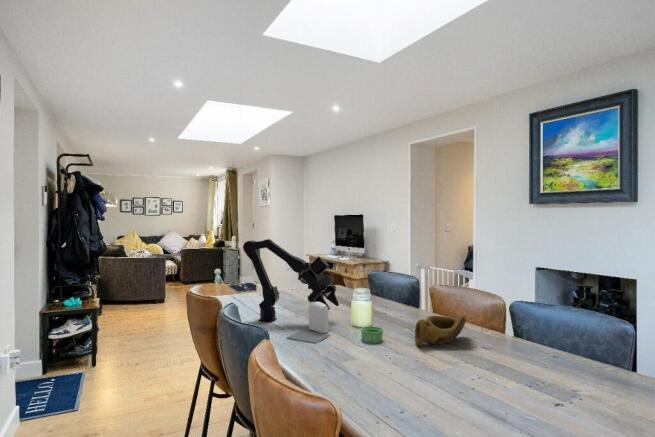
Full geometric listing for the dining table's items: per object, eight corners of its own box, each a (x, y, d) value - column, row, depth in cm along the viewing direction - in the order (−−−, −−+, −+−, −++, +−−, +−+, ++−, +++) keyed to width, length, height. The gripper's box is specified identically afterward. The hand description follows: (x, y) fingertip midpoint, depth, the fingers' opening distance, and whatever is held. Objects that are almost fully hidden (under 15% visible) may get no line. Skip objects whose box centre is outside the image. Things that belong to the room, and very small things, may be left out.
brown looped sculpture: (484, 331, 143) (424, 321, 144) (474, 361, 147) (416, 351, 148) (470, 305, 161) (416, 296, 161) (461, 332, 165) (409, 323, 165)
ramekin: (357, 341, 156) (357, 330, 156) (365, 335, 164) (365, 324, 164) (378, 344, 152) (378, 333, 152) (386, 338, 160) (386, 327, 160)
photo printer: (307, 329, 173) (307, 300, 173) (315, 327, 176) (315, 299, 176) (322, 334, 165) (322, 304, 165) (330, 332, 168) (330, 303, 168)
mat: (286, 338, 159) (286, 337, 159) (301, 331, 170) (301, 330, 170) (316, 343, 153) (316, 342, 153) (330, 335, 163) (330, 334, 163)
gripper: (313, 272, 174) (336, 299, 168) (332, 267, 190) (353, 292, 185) (298, 288, 177) (319, 316, 172) (318, 282, 194) (338, 307, 189)
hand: (333, 307), depth 179 cm, fingers open, 9 cm apart
